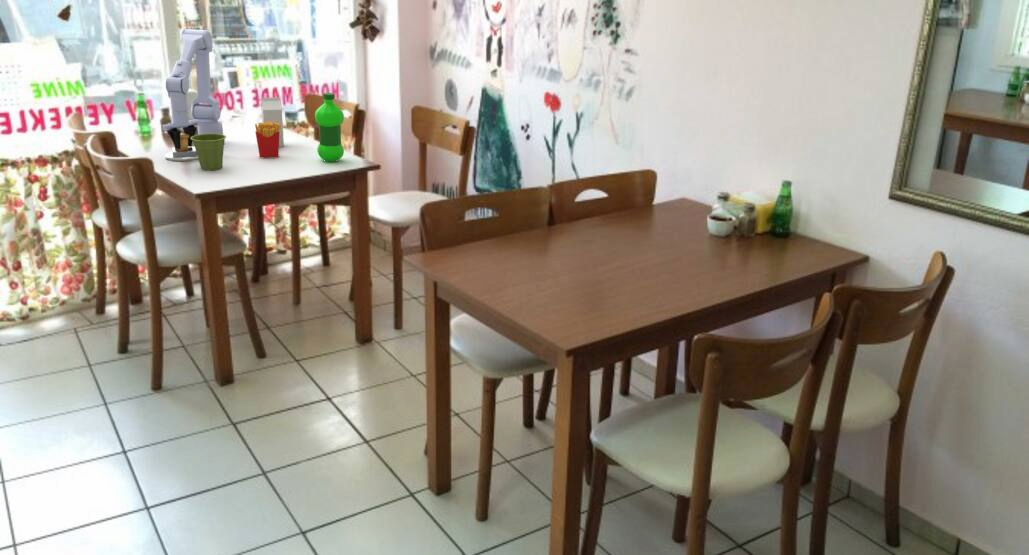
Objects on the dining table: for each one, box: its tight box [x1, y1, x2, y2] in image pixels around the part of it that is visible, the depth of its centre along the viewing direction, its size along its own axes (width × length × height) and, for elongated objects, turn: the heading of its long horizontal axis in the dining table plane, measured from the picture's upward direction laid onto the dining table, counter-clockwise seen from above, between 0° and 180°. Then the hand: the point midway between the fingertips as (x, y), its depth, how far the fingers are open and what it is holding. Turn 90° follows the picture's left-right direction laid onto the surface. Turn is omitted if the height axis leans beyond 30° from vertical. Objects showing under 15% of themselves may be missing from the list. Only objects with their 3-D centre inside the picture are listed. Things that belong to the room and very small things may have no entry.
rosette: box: [165, 145, 199, 163], centre depth 310 cm, size 20×13×3 cm, turn 113°
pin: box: [176, 132, 189, 152], centre depth 308 cm, size 5×5×7 cm
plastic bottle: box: [314, 92, 345, 162], centre depth 311 cm, size 10×10×25 cm
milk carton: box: [260, 97, 285, 148], centre depth 330 cm, size 7×7×19 cm
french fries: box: [254, 122, 281, 158], centre depth 314 cm, size 9×4×13 cm, turn 108°
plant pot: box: [191, 134, 227, 171], centre depth 295 cm, size 12×12×11 cm
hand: (183, 147), depth 308 cm, fingers closed on pin, 4 cm apart
